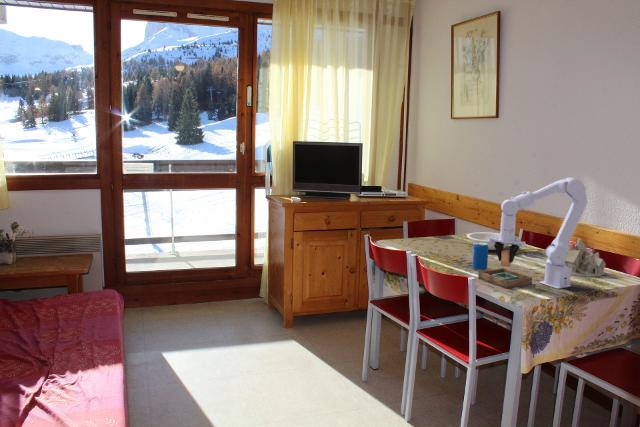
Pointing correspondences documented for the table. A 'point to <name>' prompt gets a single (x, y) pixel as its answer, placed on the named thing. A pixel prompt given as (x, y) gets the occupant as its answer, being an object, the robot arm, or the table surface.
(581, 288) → the table surface
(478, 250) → the beverage can
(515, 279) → the walled tray
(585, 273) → the ceramic cottage
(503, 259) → the terracotta peg
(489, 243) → the soup bowl
